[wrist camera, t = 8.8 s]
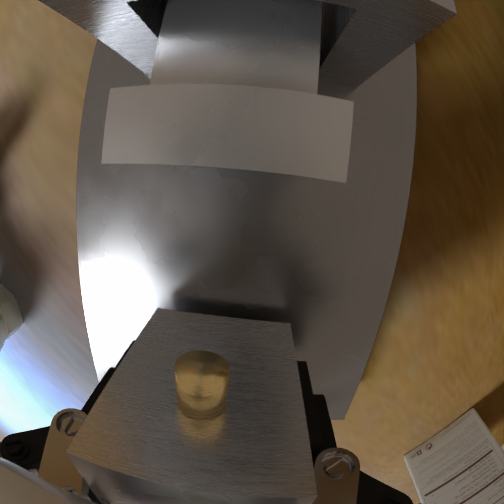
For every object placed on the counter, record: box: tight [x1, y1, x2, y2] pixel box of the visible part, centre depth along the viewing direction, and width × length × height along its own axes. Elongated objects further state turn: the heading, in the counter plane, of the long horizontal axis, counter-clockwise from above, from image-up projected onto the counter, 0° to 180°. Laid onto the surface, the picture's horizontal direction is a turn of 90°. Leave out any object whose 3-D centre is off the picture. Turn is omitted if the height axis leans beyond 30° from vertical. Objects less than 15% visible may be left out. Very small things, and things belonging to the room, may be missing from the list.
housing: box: [66, 308, 317, 504], centre depth 8 cm, size 6×5×7 cm
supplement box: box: [404, 408, 504, 504], centre depth 11 cm, size 7×7×13 cm
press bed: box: [38, 0, 457, 420], centre depth 8 cm, size 20×13×8 cm, turn 174°
